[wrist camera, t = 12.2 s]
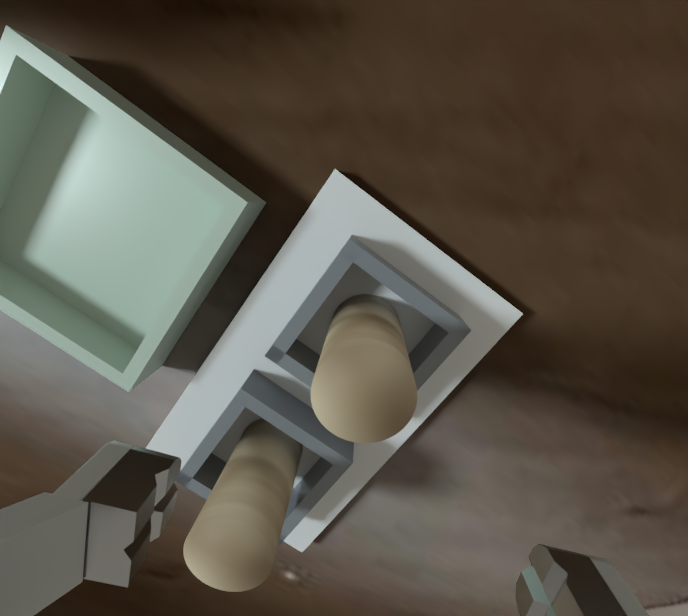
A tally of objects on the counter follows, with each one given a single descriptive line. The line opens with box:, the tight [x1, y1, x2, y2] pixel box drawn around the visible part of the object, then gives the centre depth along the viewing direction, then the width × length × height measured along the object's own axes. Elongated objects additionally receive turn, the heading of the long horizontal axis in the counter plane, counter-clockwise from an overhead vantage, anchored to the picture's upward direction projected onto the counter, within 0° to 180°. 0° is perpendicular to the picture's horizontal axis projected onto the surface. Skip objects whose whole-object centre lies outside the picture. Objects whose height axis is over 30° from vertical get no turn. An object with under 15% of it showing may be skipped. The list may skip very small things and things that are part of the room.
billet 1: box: [183, 418, 303, 592], centre depth 20 cm, size 4×4×8 cm
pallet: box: [146, 169, 523, 552], centre depth 22 cm, size 22×13×4 cm, turn 144°
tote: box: [0, 25, 266, 392], centre depth 20 cm, size 13×13×4 cm
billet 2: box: [310, 294, 417, 443], centre depth 18 cm, size 4×4×8 cm
